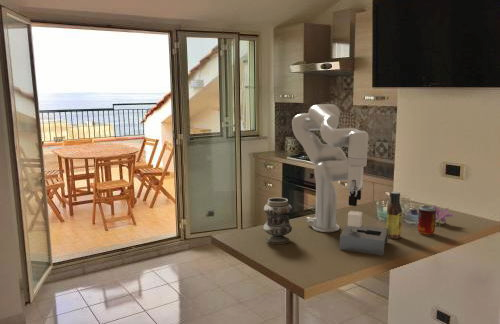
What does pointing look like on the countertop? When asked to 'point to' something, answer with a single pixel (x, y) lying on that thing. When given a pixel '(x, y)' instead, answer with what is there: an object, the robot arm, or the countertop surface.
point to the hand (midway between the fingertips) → (354, 202)
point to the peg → (354, 220)
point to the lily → (442, 214)
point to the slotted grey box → (364, 239)
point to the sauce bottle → (394, 216)
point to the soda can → (426, 220)
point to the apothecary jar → (277, 220)
